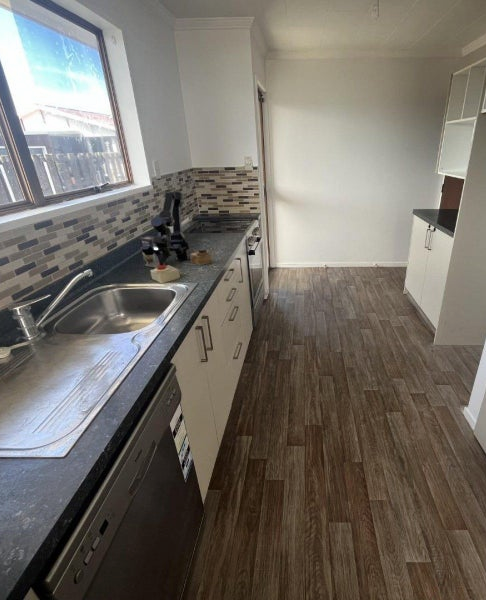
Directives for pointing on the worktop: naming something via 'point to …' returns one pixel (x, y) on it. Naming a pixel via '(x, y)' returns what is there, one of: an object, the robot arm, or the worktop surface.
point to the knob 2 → (202, 250)
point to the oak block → (200, 258)
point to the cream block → (165, 274)
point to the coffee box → (149, 259)
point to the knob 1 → (161, 267)
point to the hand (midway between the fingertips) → (161, 265)
